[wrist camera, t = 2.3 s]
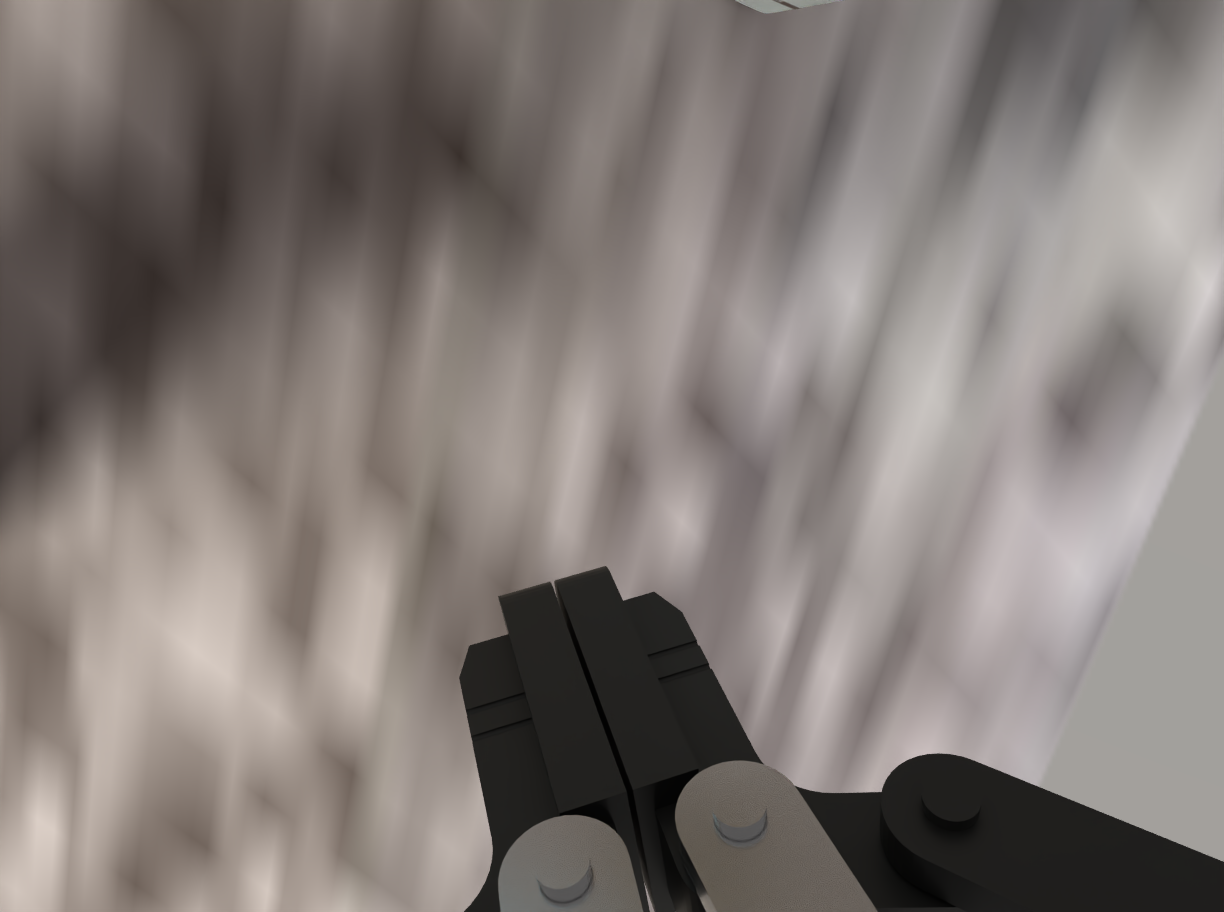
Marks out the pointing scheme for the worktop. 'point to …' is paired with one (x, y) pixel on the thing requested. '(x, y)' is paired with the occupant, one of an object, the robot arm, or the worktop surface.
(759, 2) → the skincare box
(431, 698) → the worktop surface
